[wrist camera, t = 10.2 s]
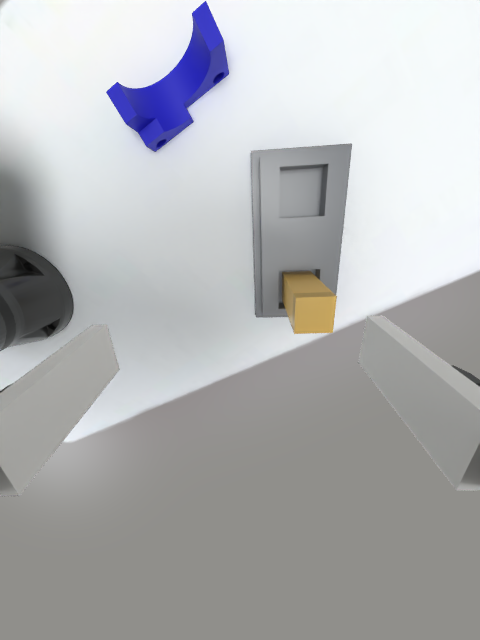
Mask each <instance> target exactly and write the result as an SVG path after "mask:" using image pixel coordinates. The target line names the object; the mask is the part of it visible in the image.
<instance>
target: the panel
mask: <svg viewBox="0 0 480 640" xmlns="http://www.w3.org/2000/svg"><path fill="white" fill-rule="evenodd" d="M351 149H352V144H339V145H326V146H312V147H299V148H285V149H271V150H258V151H251V166H252V200H253V234H254V268H255V303H256V317H288V315H287V312H286V309H285V306H284V303H283V301H282V272H295V271H311V272H312V273H313V274H314V275H315V276H316V277H317V278H318V279H319V280H320V281H321V282H322V283H323V284H324V285H325V286H326V287H327V288H329V289H330V290H331V291H332V292H333V293H334V294H335V295H336V290H337V281H338V272H339V262H340V253H341V243H342V234H343V224H344V215H345V205H346V196H347V187H348V177H349V168H350V158H351Z"/></svg>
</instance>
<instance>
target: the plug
mask: <svg viewBox="0 0 480 640" xmlns="http://www.w3.org/2000/svg"><path fill="white" fill-rule="evenodd" d="M336 297H337V296H336V295H335V294H334V293H333V292H332V291H331V290H330V289H329V288H327V287H326V286H325V285H324V284H323V283H322V282H321V281H320V280H319V279H318V278H317V277H316V276H315V275H314V274H313V273H312V272H311V271H295V272H282V301H283V303H284V306H285V309H286V312H287V315H288V317H289V320H290V323H291V326H292V329H293V331H294V334H300V333H333V325H334V316H335V307H336Z"/></svg>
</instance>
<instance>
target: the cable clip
mask: <svg viewBox="0 0 480 640" xmlns="http://www.w3.org/2000/svg"><path fill="white" fill-rule="evenodd" d="M192 17H193V33H192V37H191V41H190V43H189V46H188V48H187V50H186V52H185V54H184V56H183V57H182V59H181V60H180V62H179V63H178V64H177V66H176V67H175V68H174V69H173V70H172V71H171V72H170V73H169V74H168V75H167V76H165V77H164V78H163V79H161V80H160V81H158V82H156V83H155V84H153V85H150V86H148V87H144V88H138V89H132V88H127V87H124V86H122V85H121V84H119V83H118V82H117V83H115V84H114V85H113V86H112V87H111V88H110V89H109V90H108V91H107V92H106V93H107V94H108V96H109V98H110V99H111V101H112V102H113V104H114V106H115V107H116V109H117V110H118V112H119V114H120V115H121V117H122V118H123V120H124V122H125V123H126V124H127V125H128V126H130V127H131V128H132V129H134V130H135V131H136V132H138V133H139V135H140V137H141V138H142V140H143V141H144V143H145V145H146V146H147V147H148V148H150V149H152V150H153V151H155V152H156V151H157V150H158V149H160V148H161V147H162V146H163V145H165V144H166V143H167V142H168V141H170V140H171V139H172V138H174V137H175V136H176V135H177V134H179V133H180V132H181V131H182V130H184V129H185V128H186V127H188V126H189V125H190V124H191V123H193V120H192V118H191V116H190V114H189V112H188V110H187V108H188V107H189V106H190V105H191V104H193V103H194V102H195V101H196V100H198V99H199V98H200V97H201V96H203V95H204V94H205V93H206V92H207V91H209V90H210V89H211V88H212V87H214V86H215V85H216V84H217V83H219V82H220V81H221V80H222V79H224V78H225V77H226V76H227V75H228V74H229V70H228V64H227V58H226V52H225V46H224V40H223V38H222V36H221V34H220V31H219V29H218V27H217V25H216V23H215V20H214V18H213V16H212V14H211V11H210V9H209V7H208V5H207V3H206V1H205V2H204V3H203V4H202V5H200V6H199V7H198V8H197V9H196V10H195V11H194V12H193V13H192Z"/></svg>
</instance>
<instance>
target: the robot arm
mask: <svg viewBox="0 0 480 640" xmlns="http://www.w3.org/2000/svg"><path fill="white" fill-rule="evenodd" d="M72 312H73V302H72V296H71V293H70V290H69V288H68V285H67V284H66V282H65V280H64V278H63V277H62V276H61V274H60V273H59V272H58V271H57V269H56V268H55V267H54V266H53V265H52V264H50V263H49V262H48V261H47V260H46V259H44V258H43V257H41V256H40V255H38V254H36V253H34V252H32V251H30V250H28V249H25V248H21V247H17V246H0V351H1V350H3V349H5V348H7V347H11V346H16V345H21V344H26V343H31V342H36V341H40V340H44V339H47V338H49V337H51V336H53V335H54V334H56V333H58V332H59V331H61V330H62V329H64V328H65V327H66V325H67V324H68V323H69V321H70V319H71V316H72ZM359 364H360V366H361V367H362V368H363V370H364V371H365V372H366V373H367V375H368V376H369V377H370V379H371V380H372V381H373V383H374V384H375V385H376V386H377V388H378V389H379V390H380V392H381V393H382V394H383V396H384V397H385V398H386V399H387V401H388V402H389V403H390V405H391V406H392V407H393V409H394V410H395V411H396V413H397V414H398V415H399V416H400V418H401V419H402V420H403V422H404V423H405V424H406V425H407V427H408V428H409V429H410V431H411V432H412V433H413V435H414V436H415V437H416V439H417V440H418V441H419V442H420V444H421V445H422V446H423V448H424V449H425V450H426V452H427V453H428V454H429V456H430V457H431V458H432V459H433V461H434V462H435V463H436V465H437V466H438V467H439V469H440V470H441V471H442V473H443V474H444V475H445V476H446V478H447V479H448V480H449V482H450V483H451V484H452V486H453V487H454V488H455V489H456V490H480V380H479V379H478V378H476V377H475V376H473V375H472V374H470V373H468V372H466V371H464V370H462V369H460V368H458V367H455V366H451V365H449V364H448V363H446V362H445V361H444V360H442V359H441V358H440V357H438V356H437V355H436V354H434V353H433V352H431V351H430V350H429V349H427V348H426V347H425V346H423V345H422V344H421V343H419V342H418V341H417V340H415V339H414V338H412V337H411V336H410V335H408V334H407V333H406V332H404V331H403V330H402V329H400V328H399V327H398V326H396V325H395V324H393V323H392V322H391V321H389V320H388V319H387V318H385V317H384V316H382V315H379V316H367V318H366V324H365V329H364V334H363V340H362V346H361V351H360V357H359ZM119 370H120V369H119V366H118V362H117V359H116V355H115V352H114V348H113V345H112V341H111V338H110V334H109V331H108V327H107V325H91V326H90V327H89V328H87V329H86V330H85V331H83V332H82V333H81V334H79V335H78V336H77V337H75V338H74V339H73V340H71V341H70V342H68V343H67V344H66V345H64V346H63V347H62V348H60V349H59V350H58V351H56V352H55V353H54V354H52V355H51V356H50V357H48V358H47V359H46V360H44V361H43V362H41V363H40V364H39V365H37V366H36V367H35V368H33V369H32V370H31V371H29V372H28V373H27V374H25V375H24V376H23V377H21V378H20V379H19V380H17V381H16V382H14V383H13V384H11V385H9V386H7V387H6V388H4V389H3V390H2V391H0V496H20V495H21V494H22V492H23V491H24V490H25V488H26V487H27V486H28V485H29V484H30V482H31V481H32V480H33V478H34V477H35V476H36V474H37V473H38V472H39V471H40V470H41V468H42V467H43V466H44V465H45V463H46V462H47V461H48V459H49V458H50V457H51V455H52V454H53V453H54V452H55V451H56V449H57V448H58V447H59V446H60V444H61V443H62V442H63V441H64V439H65V438H66V437H67V435H68V434H69V433H70V432H71V430H72V429H73V428H74V427H75V425H76V424H77V423H78V422H79V420H80V419H81V418H82V416H83V415H84V414H85V413H86V411H87V410H88V409H89V408H90V406H91V405H92V404H93V403H94V401H95V400H96V399H97V398H98V396H99V395H100V394H101V392H102V391H103V390H104V389H105V387H106V386H107V385H108V384H109V382H110V381H111V380H112V379H113V377H114V376H115V375H116V373H117V372H118V371H119Z"/></svg>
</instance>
